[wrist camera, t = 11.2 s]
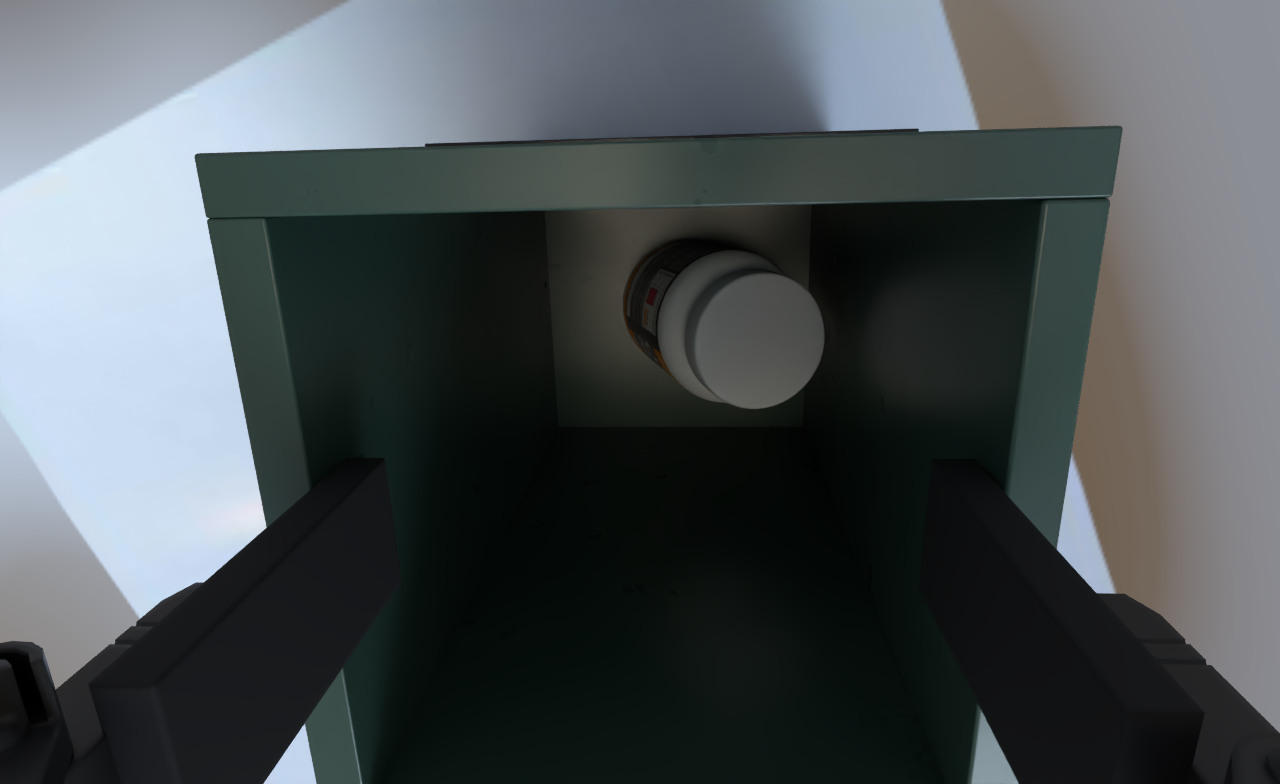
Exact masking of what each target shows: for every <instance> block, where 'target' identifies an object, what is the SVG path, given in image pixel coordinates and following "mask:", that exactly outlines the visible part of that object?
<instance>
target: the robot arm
mask: <svg viewBox="0 0 1280 784" xmlns="http://www.w3.org/2000/svg"><path fill="white" fill-rule="evenodd" d="M401 582H402V578H401V571H400V564H399V556H398V549H397V542H396V535H395V528H394V521H393V513H392V506H391V499H390V492H389V485H388V477H387V470H386V463H385V458H346V459H345V460H344V461H343V462H342V463H340V464H339V465H338V466H337V467H336V468H335V469H334V470H332V471H331V472H330V473H329V474H328V475H327V476H325V477H324V478H323V479H322V480H321V481H320V482H319V483H317V484H316V485H315V486H314V487H313V488H312V489H311V490H309V491H308V492H307V493H306V494H305V495H304V496H303V497H301V498H300V499H299V500H298V501H297V502H296V503H295V504H293V505H292V506H291V507H290V508H289V509H288V510H287V511H285V512H284V513H283V514H282V515H281V516H280V517H279V518H277V519H276V520H275V521H274V522H273V523H272V524H271V525H269V526H268V527H267V528H266V529H265V530H264V531H263V532H261V533H260V534H259V535H258V536H257V537H256V538H254V539H253V540H252V541H251V542H250V543H249V544H248V545H246V546H245V547H244V548H243V549H242V550H241V551H240V552H238V553H237V554H236V555H235V556H234V557H233V558H232V559H230V560H229V561H228V562H227V563H226V564H225V565H224V566H222V567H221V568H220V569H219V570H218V571H217V572H216V573H214V574H213V575H212V576H211V577H210V578H209V579H208V580H206V581H205V582H204V583H194V584H193V585H191V586H189V587H187V588H185V589H183V590H181V591H179V592H177V593H176V594H174V595H172V596H170V597H168V598H166V599H164V600H162V601H161V602H160V603H159V604H157V605H156V606H155V607H154V608H153V609H152V610H150V611H149V612H148V613H147V614H146V615H144V616H143V617H142V618H141V619H140V620H138V621H137V624H136V626H132V627H130V628H129V629H128V630H127V631H125V632H124V633H123V634H122V635H121V636H119V637H118V638H117V639H116V640H115V641H116V642H115V644H114V645H113V644H110V645H109V646H108V647H106V648H105V649H104V650H103V651H101V652H100V653H99V654H98V655H97V656H95V657H94V658H93V659H92V660H91V661H89V662H88V663H87V664H86V665H85V666H84V667H82V668H81V669H80V670H79V671H78V672H76V673H75V674H74V675H73V676H72V677H70V678H69V679H68V680H67V681H66V682H64V683H63V684H62V685H61V686H60V687H58V688H57V689H56V690H55V687H54V683H53V680H52V677H51V674H50V671H49V668H48V664H47V661H46V658H45V655H44V651H43V648H41V647H39V646H38V645H35V644H34V643H32V642H18V641H10V642H5V643H0V784H263V783H264V782H265V780H266V779H267V777H268V776H269V775H270V773H271V772H272V770H273V769H274V767H275V766H276V764H277V763H278V761H279V760H280V759H281V757H282V756H283V754H284V753H285V751H286V750H287V748H288V747H289V745H290V744H291V742H292V741H293V740H294V738H295V737H296V735H297V734H298V732H299V731H300V729H301V728H302V726H303V725H304V724H305V722H306V721H307V719H308V718H309V716H310V715H311V713H312V712H313V710H314V709H315V708H316V706H317V705H318V703H319V702H320V700H321V699H322V697H323V696H324V694H325V693H326V691H327V690H328V689H329V687H330V686H331V684H332V683H333V681H334V680H335V678H336V677H337V675H338V674H339V673H340V671H341V670H342V668H343V667H344V665H345V664H346V662H347V661H348V659H349V658H350V656H351V655H352V654H353V652H354V651H355V649H356V648H357V646H358V645H359V643H360V642H361V640H362V639H363V638H364V636H365V635H366V633H367V632H368V630H369V629H370V627H371V626H372V624H373V623H374V622H375V620H376V619H377V617H378V616H379V614H380V613H381V611H382V610H383V608H384V607H385V605H386V604H387V603H388V601H389V600H390V598H391V597H392V595H393V594H394V592H395V591H396V589H397V588H398V587H399V585H400V584H401ZM919 590H920V592H921V594H922V596H923V598H924V600H925V601H926V603H927V605H928V607H929V609H930V611H931V613H932V615H933V617H934V619H935V621H936V623H937V625H938V627H939V629H940V631H941V633H942V635H943V637H944V639H945V641H946V642H947V644H948V646H949V648H950V650H951V652H952V654H953V656H954V658H955V660H956V662H957V664H958V666H959V668H960V670H961V672H962V674H963V676H964V678H965V680H966V682H967V683H968V685H969V687H970V689H971V691H972V693H973V695H974V697H975V699H976V701H977V703H978V705H979V707H980V709H981V711H982V713H983V715H984V717H985V719H986V721H987V723H988V725H989V726H990V728H991V730H992V732H993V734H994V736H995V738H996V740H997V742H998V744H999V746H1000V748H1001V750H1002V752H1003V754H1004V756H1005V758H1006V760H1007V762H1008V764H1009V766H1010V767H1011V769H1012V771H1013V773H1014V775H1015V777H1016V779H1017V781H1018V783H1019V784H1280V733H1279V732H1278V731H1277V730H1276V729H1275V728H1274V727H1273V726H1272V725H1271V724H1270V723H1269V722H1268V721H1267V720H1266V719H1265V718H1264V717H1263V716H1261V714H1260V713H1258V711H1257V710H1256V709H1255V708H1254V707H1252V705H1250V703H1249V702H1248V701H1246V699H1245V698H1244V697H1243V696H1241V694H1240V693H1239V692H1237V690H1236V689H1234V688H1233V686H1231V684H1229V683H1228V681H1227V680H1226V679H1224V678H1223V677H1222V676H1221V675H1220V674H1219V673H1218V672H1217V671H1216V670H1215V669H1214V668H1213V667H1212V666H1211V665H1207V664H1206V660H1205V659H1204V658H1203V657H1202V656H1201V655H1200V654H1199V653H1198V652H1197V651H1196V650H1195V649H1194V648H1193V647H1192V646H1191V645H1189V644H1186V643H1185V639H1184V638H1183V637H1182V636H1181V635H1180V634H1179V633H1178V632H1177V631H1176V630H1175V629H1174V628H1173V627H1172V626H1171V625H1170V624H1169V623H1168V622H1167V621H1166V620H1165V619H1164V618H1163V617H1162V616H1161V615H1160V614H1158V613H1156V612H1155V611H1153V610H1151V609H1150V608H1148V607H1146V606H1144V605H1143V604H1141V603H1139V602H1137V601H1136V600H1134V599H1133V598H1131V597H1129V596H1127V595H1126V594H1102V593H1096V592H1095V591H1094V590H1093V589H1092V588H1091V587H1090V586H1089V585H1088V584H1087V582H1086V581H1085V580H1084V579H1083V578H1082V577H1081V576H1080V575H1079V574H1078V573H1077V571H1076V570H1075V569H1074V568H1073V567H1072V566H1071V565H1070V564H1069V563H1068V562H1067V560H1066V559H1065V558H1064V557H1063V556H1062V555H1061V554H1060V553H1059V552H1058V551H1057V549H1056V548H1055V547H1054V546H1053V545H1052V544H1051V543H1050V542H1049V541H1048V540H1047V538H1046V537H1045V536H1044V535H1043V534H1042V533H1041V532H1040V531H1039V530H1038V529H1037V527H1036V526H1035V525H1034V524H1033V523H1032V522H1031V521H1030V520H1029V519H1028V518H1027V516H1026V515H1025V514H1024V513H1023V512H1022V511H1021V510H1020V509H1019V508H1018V507H1017V505H1016V504H1015V503H1014V502H1013V501H1012V500H1011V499H1010V498H1009V497H1008V496H1007V494H1006V493H1005V492H1004V491H1003V490H1002V489H1001V488H1000V487H999V486H998V485H997V483H996V482H995V481H994V480H993V479H992V478H991V477H990V476H989V475H988V474H987V472H986V471H985V470H984V469H983V468H982V467H981V466H980V465H979V464H978V463H977V462H976V460H975V459H931V469H930V480H929V490H928V501H927V511H926V522H925V532H924V542H923V553H922V563H921V574H920V584H919Z"/></svg>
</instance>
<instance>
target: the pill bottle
mask: <svg viewBox="0 0 1280 784" xmlns="http://www.w3.org/2000/svg"><path fill="white" fill-rule="evenodd" d="M623 317H624V321H625V324H626V327H627V330H628V332H629V334H630V336H631V338H632V340H633V341H634V343H635V344H636V345H637V346H638V347H639V349H640V350H641V351H642V352H643V353H645V354H646V355H647V356H648V357H649V358H650V359H651V360H652V361H654V362H655V363H656V364H657V365H658V366H660V367H661V368H662V369H663V370H664V371H665V372H667V374H669V375H670V376H671V377H672V378H673V379H674V380H676V381H677V382H678V383H679V384H680V385H681V386H683V387H684V388H685V389H686V390H688V391H689V392H691V393H693V394H694V395H696V396H698V397H700V398H703V399H706V400H709V401H714V402H722V403H729V404H731V405H734V406H737V407H741V408H747V409H761V408H767V407H771V406H774V405H777V404H779V403H782V402H784V401H786V400H787V399H789V398H791V397H792V396H794V395H795V394H796V393H798V392H799V391H800V390H801V389H802V388H803V387H804V386H805V385H806V384H807V382H808V381H809V380H810V379H811V377H812V376H813V374H814V372H815V371H816V369H817V367H818V365H819V362H820V360H821V356H822V353H823V348H824V341H825V329H824V322H823V317H822V314H821V311H820V309H819V307H818V305H817V303H816V301H815V300H814V298H813V297H812V295H811V294H810V293H809V292H808V291H807V290H806V289H805V288H804V287H803V286H802V285H800V284H799V283H798V282H796V281H795V280H793V279H791V278H789V277H787V275H786V274H785V273H784V272H783V271H782V270H781V269H780V268H779V267H778V266H776V265H775V264H774V263H773V262H771V261H770V260H768V259H766V258H764V257H762V256H760V255H757V254H755V253H752V252H749V251H745V250H740V249H737V248H728V247H724V246H720V245H717V244H710V243H705V242H698V241H675V242H670V243H667V244H664V245H662V246H659V247H658V248H656V249H654V250H652V251H651V252H650V253H648V254H647V255H646V256H644V257H643V258H642V259H641V260H640V262H639V263H638V264H637V265H636V266H635V267H634V269H633V271H632V272H631V274H630V276H629V278H628V280H627V283H626V286H625V289H624V294H623Z"/></svg>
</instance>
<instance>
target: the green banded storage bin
mask: <svg viewBox="0 0 1280 784" xmlns="http://www.w3.org/2000/svg"><path fill="white" fill-rule="evenodd" d="M1121 136H1122V127H1121V126H1095V127H1094V126H1092V127H1060V128H1028V129H1027V128H1026V129H994V130H960V131H927V132H919V129H891V130H858V131H826V132H793V133H760V134H727V135H695V136H662V137H629V138H596V139H564V140H531V141H498V142H466V143H433V144H425V147H398V148H365V149H332V150H299V151H266V152H233V153H200V154H196V155H195V162H196V167H197V172H198V177H199V183H200V188H201V193H202V198H203V203H204V208H205V213H206V217H207V218H210V219H208V220H207V223H208V229H209V234H210V239H211V244H212V249H213V254H214V259H215V264H216V270H217V275H218V280H219V285H220V290H221V295H222V300H223V306H224V311H225V316H226V321H227V326H228V331H229V336H230V341H231V347H232V352H233V357H234V362H235V367H236V372H237V377H238V382H239V388H240V393H241V398H242V403H243V408H244V413H245V418H246V423H247V429H248V434H249V439H250V444H251V449H252V454H253V459H254V465H255V470H256V475H257V480H258V485H259V490H260V495H261V500H262V506H263V511H264V516H265V521H266V526H267V527H268V526H269V525H271V524H272V523H273V522H274V521H275V520H276V519H277V518H279V517H280V516H281V515H282V514H283V513H284V512H285V511H287V510H288V509H289V508H290V507H291V506H292V505H293V504H295V503H296V502H297V501H298V500H299V499H300V498H301V497H303V496H304V495H305V494H306V493H307V492H308V491H309V490H311V489H312V488H313V487H314V486H315V485H316V484H317V483H319V482H320V481H321V480H322V479H323V478H324V477H325V476H327V475H328V474H329V473H330V472H331V471H332V470H334V469H335V468H336V467H337V466H338V465H339V464H340V463H342V462H343V461H344V460H345V459H346V458H385V463H386V470H387V477H388V485H389V492H390V499H391V506H392V513H393V521H394V528H395V535H396V542H397V549H398V556H399V564H400V571H401V578H402V582H401V584H400V585H399V587H398V588H397V589H396V591H395V592H394V594H393V595H392V597H391V598H390V600H389V601H388V603H387V604H386V605H385V607H384V608H383V610H382V611H381V613H380V614H379V616H378V617H377V619H376V620H375V622H374V623H373V624H372V626H371V627H370V629H369V630H368V632H367V633H366V635H365V636H364V638H363V639H362V640H361V642H360V643H359V645H358V646H357V648H356V649H355V651H354V652H353V654H352V655H351V656H350V658H349V659H348V661H347V662H346V664H345V665H344V667H343V668H342V670H341V671H340V673H339V674H338V675H337V677H336V678H335V680H334V681H333V683H332V684H331V686H330V687H329V689H328V690H327V691H326V693H325V694H324V696H323V697H322V699H321V700H320V702H319V703H318V705H317V706H316V708H315V709H314V710H313V712H312V713H311V715H310V716H309V718H308V719H307V721H306V722H305V726H306V731H307V736H308V741H309V747H310V752H311V757H312V762H313V767H314V772H315V777H316V782H317V784H1019V783H1018V781H1017V779H1016V777H1015V775H1014V773H1013V771H1012V769H1011V767H1010V766H1009V764H1008V762H1007V760H1006V758H1005V756H1004V754H1003V752H1002V750H1001V748H1000V746H999V744H998V742H997V740H996V738H995V736H994V734H993V732H992V730H991V728H990V726H989V725H988V723H987V721H986V719H985V717H984V715H983V713H982V711H981V709H980V707H979V705H978V703H977V701H976V699H975V697H974V695H973V693H972V691H971V689H970V687H969V685H968V683H967V682H966V680H965V678H964V676H963V674H962V672H961V670H960V668H959V666H958V664H957V662H956V660H955V658H954V656H953V654H952V652H951V650H950V648H949V646H948V644H947V642H946V641H945V639H944V637H943V635H942V633H941V631H940V629H939V627H938V625H937V623H936V621H935V619H934V617H933V615H932V613H931V611H930V609H929V607H928V605H927V603H926V601H925V600H924V598H923V596H922V594H921V592H920V590H919V584H920V574H921V563H922V553H923V542H924V532H925V522H926V511H927V501H928V490H929V480H930V469H931V459H975V460H976V462H977V463H978V464H979V465H980V466H981V467H982V468H983V469H984V470H985V471H986V472H987V474H988V475H989V476H990V477H991V478H992V479H993V480H994V481H995V482H996V483H997V485H998V486H999V487H1000V488H1001V489H1002V490H1003V491H1004V492H1005V493H1006V494H1007V496H1008V497H1009V498H1010V499H1011V500H1012V501H1013V502H1014V503H1015V504H1016V505H1017V507H1018V508H1019V509H1020V510H1021V511H1022V512H1023V513H1024V514H1025V515H1026V516H1027V518H1028V519H1029V520H1030V521H1031V522H1032V523H1033V524H1034V525H1035V526H1036V527H1037V529H1038V530H1039V531H1040V532H1041V533H1042V534H1043V535H1044V536H1045V537H1046V538H1047V540H1048V541H1049V542H1050V543H1051V544H1052V545H1053V546H1054V547H1055V548H1056V549H1057V543H1058V536H1059V530H1060V523H1061V517H1062V510H1063V504H1064V497H1065V491H1066V484H1067V478H1068V471H1069V465H1070V459H1071V452H1072V446H1073V439H1074V432H1075V426H1076V420H1077V413H1078V407H1079V400H1080V394H1081V387H1082V381H1083V375H1084V368H1085V362H1086V355H1087V349H1088V342H1089V336H1090V329H1091V323H1092V316H1093V310H1094V303H1095V297H1096V290H1097V283H1098V277H1099V271H1100V264H1101V258H1102V252H1103V245H1104V239H1105V232H1106V226H1107V219H1108V213H1109V206H1110V201H1109V199H1107V198H1105V197H1110V196H1112V194H1113V188H1114V181H1115V175H1116V168H1117V161H1118V155H1119V149H1120V142H1121ZM675 241H698V242H705V243H710V244H717V245H720V246H724V247H728V248H737V249H740V250H745V251H749V252H752V253H755V254H757V255H760V256H762V257H764V258H766V259H768V260H770V261H771V262H773V263H774V264H775V265H776V266H778V267H779V268H780V269H781V270H782V271H783V272H784V273H785V274H786V275H787V277H789V278H791V279H793V280H795V281H796V282H798V283H799V284H800V285H802V286H803V287H804V288H805V289H806V290H807V291H808V292H809V293H810V294H811V295H812V297H813V298H814V300H815V301H816V303H817V305H818V307H819V309H820V311H821V314H822V317H823V322H824V329H825V341H824V348H823V353H822V356H821V360H820V362H819V365H818V367H817V369H816V371H815V372H814V374H813V376H812V377H811V379H810V380H809V381H808V382H807V384H806V385H805V386H804V387H803V388H802V389H801V390H800V391H799V392H798V393H796V394H795V395H794V396H792V397H791V398H789V399H787V400H786V401H784V402H782V403H779V404H777V405H774V406H771V407H767V408H761V409H747V408H741V407H737V406H734V405H731V404H729V403H722V402H714V401H709V400H706V399H703V398H700V397H698V396H696V395H694V394H693V393H691V392H689V391H688V390H686V389H685V388H684V387H683V386H681V385H680V384H679V383H678V382H677V381H676V380H674V379H673V378H672V377H671V376H670V375H669V374H667V372H665V371H664V370H663V369H662V368H661V367H660V366H658V365H657V364H656V363H655V362H654V361H652V360H651V359H650V358H649V357H648V356H647V355H646V354H645V353H643V352H642V351H641V350H640V349H639V347H638V346H637V345H636V344H635V343H634V341H633V340H632V338H631V336H630V334H629V332H628V330H627V327H626V324H625V321H624V317H623V294H624V289H625V286H626V283H627V280H628V278H629V276H630V274H631V272H632V271H633V269H634V267H635V266H636V265H637V264H638V263H639V262H640V260H641V259H642V258H643V257H644V256H646V255H647V254H648V253H650V252H651V251H652V250H654V249H656V248H658V247H659V246H662V245H664V244H667V243H670V242H675Z"/></svg>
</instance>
